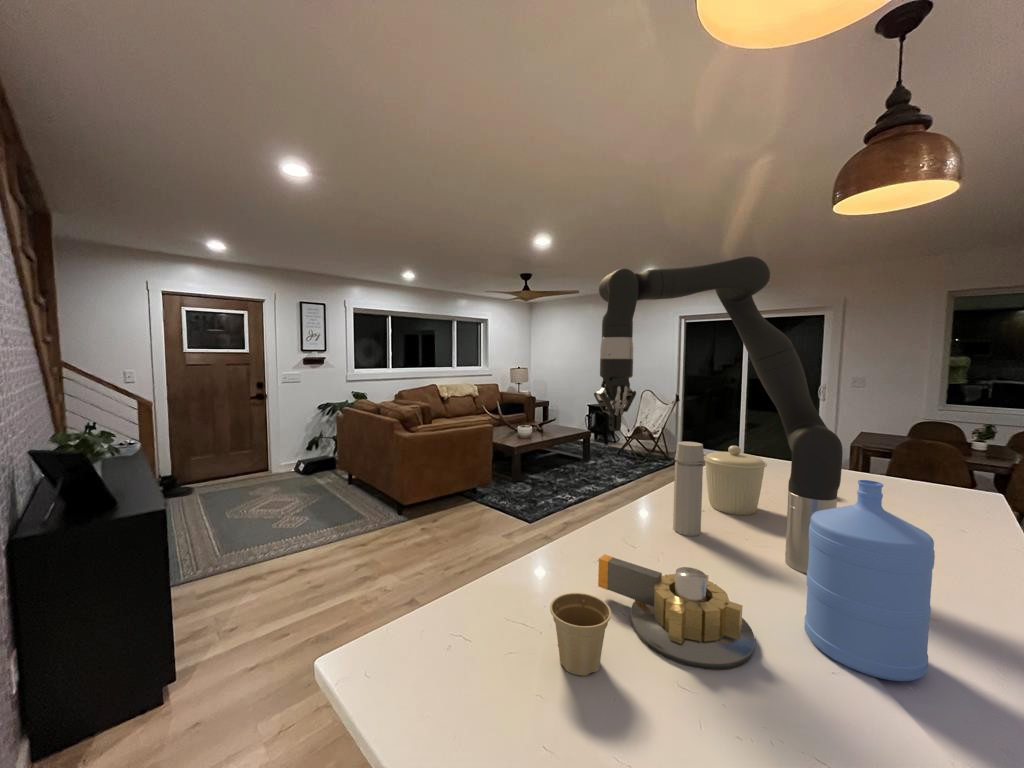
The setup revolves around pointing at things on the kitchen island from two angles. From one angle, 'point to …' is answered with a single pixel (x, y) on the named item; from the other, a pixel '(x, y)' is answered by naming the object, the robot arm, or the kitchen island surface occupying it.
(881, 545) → the water jug
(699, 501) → the water bottle
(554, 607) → the flower pot
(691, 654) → the housing
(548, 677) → the kitchen island surface
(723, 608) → the segmented ring on plate
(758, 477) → the canister
